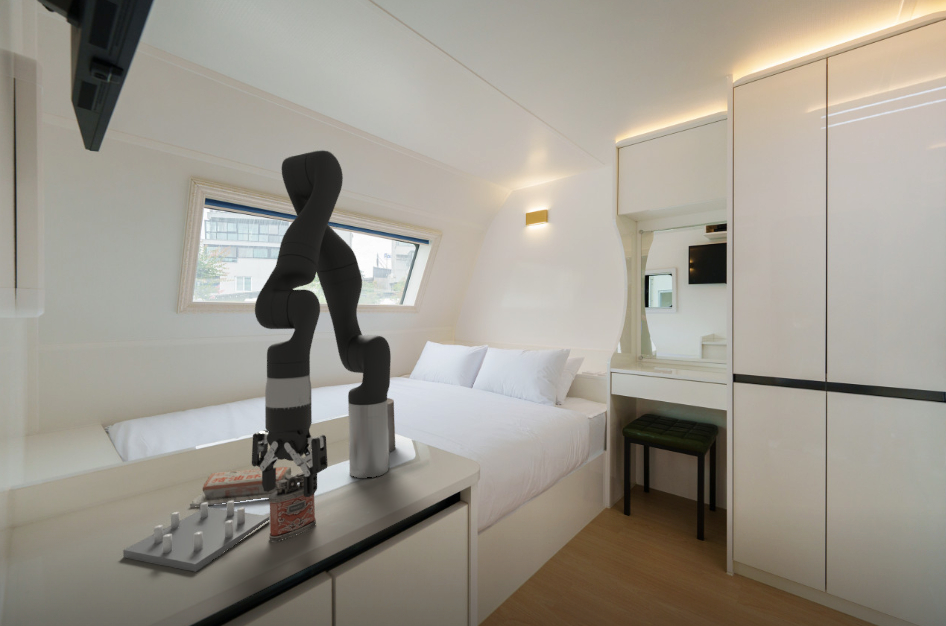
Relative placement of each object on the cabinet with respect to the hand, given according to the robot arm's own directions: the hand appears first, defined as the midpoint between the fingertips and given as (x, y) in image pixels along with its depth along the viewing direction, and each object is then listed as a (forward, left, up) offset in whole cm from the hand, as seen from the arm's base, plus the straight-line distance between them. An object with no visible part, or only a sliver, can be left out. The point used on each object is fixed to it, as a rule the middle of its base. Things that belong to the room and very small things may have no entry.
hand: (289, 492), depth 74 cm
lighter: (0, 0, -7) cm, 7 cm away
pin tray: (+6, -14, -7) cm, 16 cm away
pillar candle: (-43, -7, -7) cm, 44 cm away
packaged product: (-11, -21, -8) cm, 25 cm away
